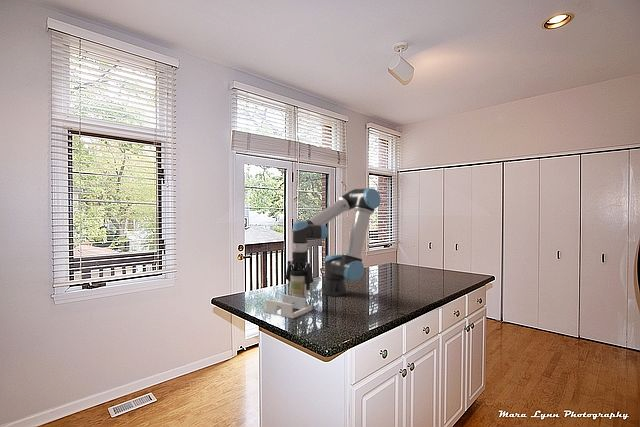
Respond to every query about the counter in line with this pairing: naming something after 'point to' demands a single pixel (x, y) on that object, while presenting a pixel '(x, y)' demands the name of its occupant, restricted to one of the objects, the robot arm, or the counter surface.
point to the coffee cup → (298, 282)
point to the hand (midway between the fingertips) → (298, 294)
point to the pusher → (294, 302)
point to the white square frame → (285, 309)
